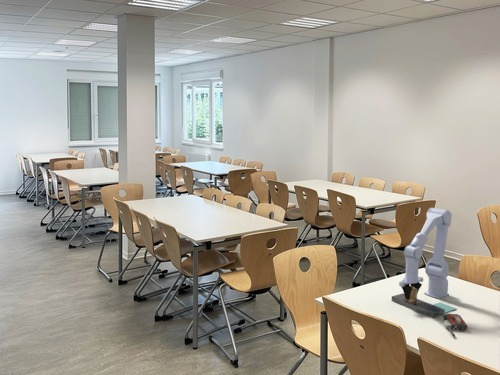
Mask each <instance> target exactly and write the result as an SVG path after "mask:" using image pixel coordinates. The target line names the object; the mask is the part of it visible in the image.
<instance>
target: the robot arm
mask: <svg viewBox="0 0 500 375" xmlns="http://www.w3.org/2000/svg"><path fill="white" fill-rule="evenodd" d="M452 217H453V216H452V213H451V211H450V210H449V209H442V208H441V209H440V208H436V207H430V208H429V209H428V210H427V212H426V220H425V222H424V225H423V227H422V229H421V231H420V232H418V233H416V235H415V236H414V237H413V239H412V241H411V242H410V244H409V245H407V246H405V248H404V251H403V255H404V260H405V276H404V277H403V279H402V280H401V281H399V285H398V286H400V288H402V291H403V292H402V293H404V295H405V299H407V300H409V299H410V294H411V290H412V288H413V287H414V288H417V294H418V293H419V291H420V289H421V287H422V286H423V284H422V283H423V282H424V277H422V276H419V266H420V264H419V263H420V259H421V257H422V256H423V251H424V247H425V245H426V244H427V243H428V239H429V238H428V236H429V234H430V233H432V231H433V229H434V228H435V227H436V231H435V232H436V234H435V237H434V238H435V240H434V246H433V253H432V258H429V259H428V260H427V263H426V266H425V274H426V275H427V278H428V284H427V285H428V286H427V291H425V292H423V294H424V295H427V296H429V297H432V298H435V299H439V298H444V297H446V296H450V293H448V291H449V281H448V276H449V272H450V271H449V264H448V263H447V260H445V254H446V252H445V251H446V248H447V246H446V244H447V238H448V232H449V227H451V223H452Z"/></svg>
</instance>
